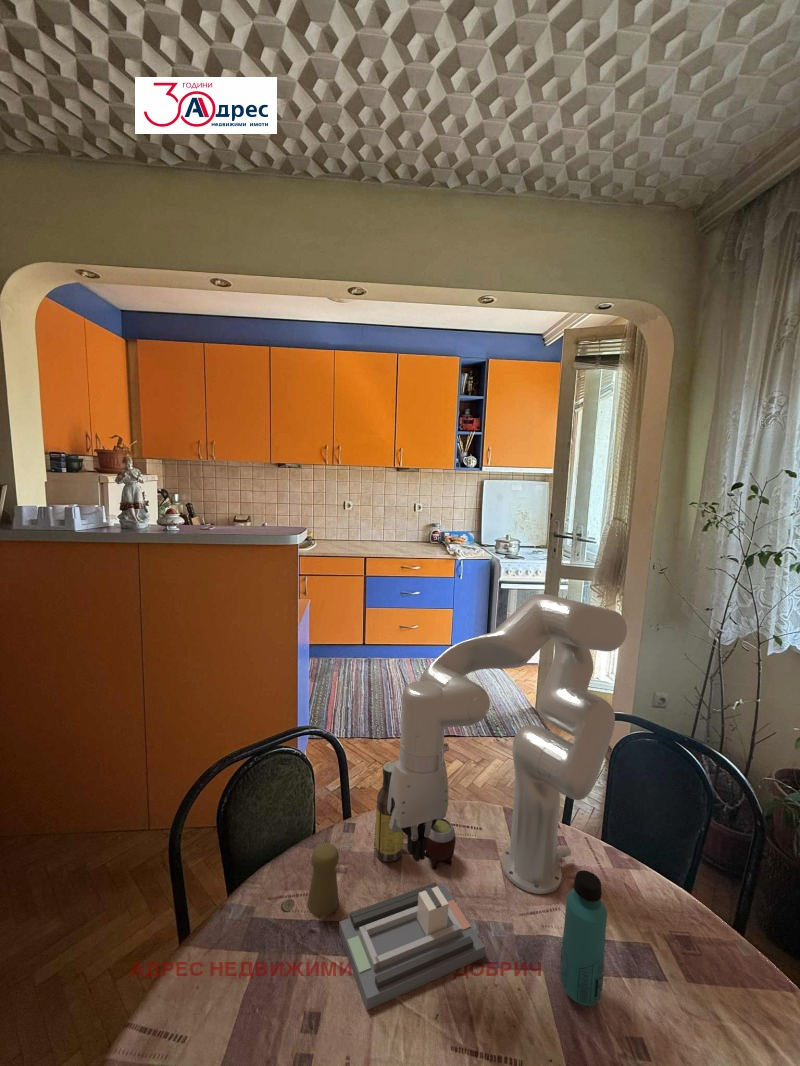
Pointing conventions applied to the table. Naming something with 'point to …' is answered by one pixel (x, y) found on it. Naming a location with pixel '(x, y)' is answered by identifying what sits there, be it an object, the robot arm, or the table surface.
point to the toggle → (432, 910)
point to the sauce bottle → (386, 823)
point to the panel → (404, 946)
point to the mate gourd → (441, 843)
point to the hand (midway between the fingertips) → (416, 854)
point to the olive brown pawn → (324, 881)
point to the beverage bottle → (584, 940)
